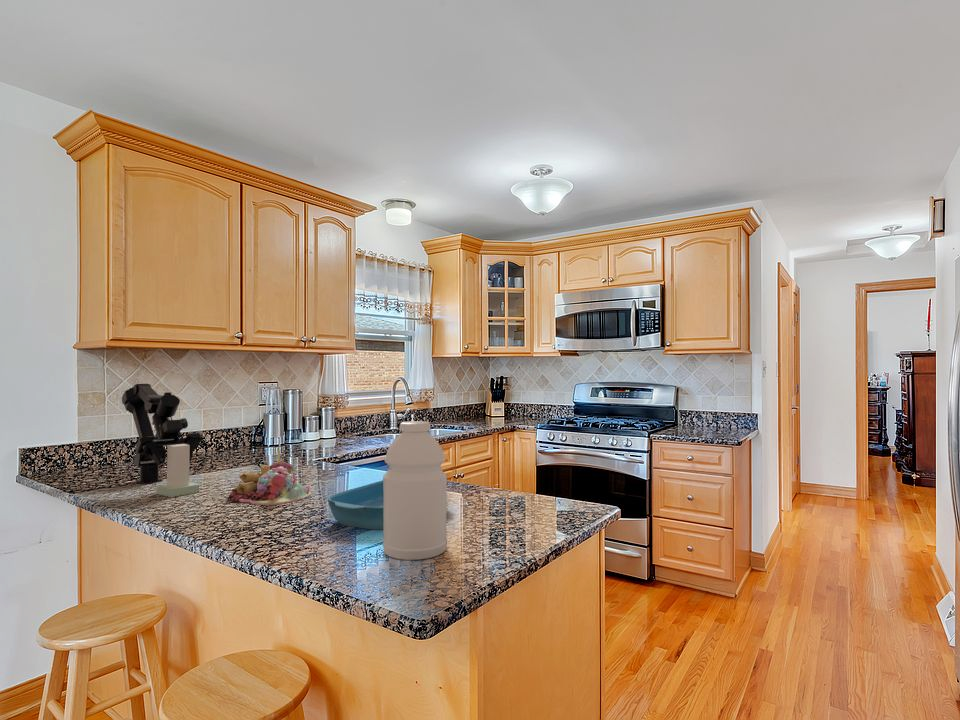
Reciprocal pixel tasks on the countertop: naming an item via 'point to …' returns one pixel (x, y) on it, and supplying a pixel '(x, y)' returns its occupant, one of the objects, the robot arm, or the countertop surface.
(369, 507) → the casserole dish
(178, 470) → the cream block
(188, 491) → the trivet
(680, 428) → the countertop surface
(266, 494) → the candy landscape model
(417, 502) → the bottle
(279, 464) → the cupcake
